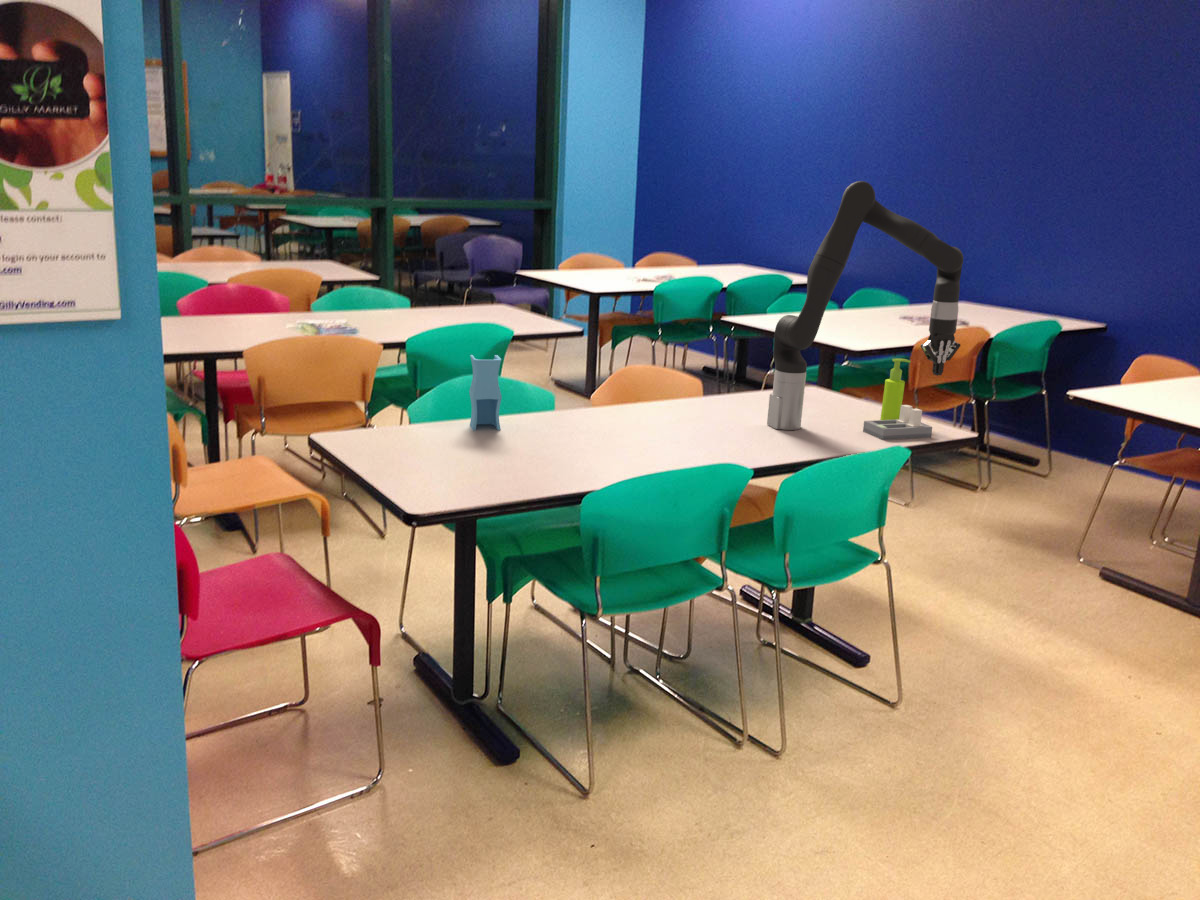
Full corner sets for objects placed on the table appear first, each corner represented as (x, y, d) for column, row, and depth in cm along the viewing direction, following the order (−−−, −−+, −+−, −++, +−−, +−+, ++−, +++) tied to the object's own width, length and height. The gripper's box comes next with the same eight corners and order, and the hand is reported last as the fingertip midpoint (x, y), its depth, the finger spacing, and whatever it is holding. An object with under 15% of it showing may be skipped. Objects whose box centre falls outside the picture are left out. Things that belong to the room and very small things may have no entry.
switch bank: (882, 439, 299) (883, 428, 298) (862, 431, 308) (864, 420, 308) (930, 437, 305) (932, 426, 304) (910, 428, 314) (911, 418, 313)
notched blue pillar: (496, 423, 297) (497, 354, 291) (500, 430, 290) (502, 360, 284) (468, 423, 295) (469, 354, 289) (472, 430, 287) (473, 360, 282)
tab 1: (901, 428, 308) (904, 407, 306) (895, 426, 311) (898, 404, 309) (912, 428, 309) (915, 406, 307) (906, 425, 312) (909, 404, 310)
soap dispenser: (905, 424, 319) (913, 361, 314) (882, 423, 319) (890, 360, 314) (900, 420, 325) (908, 357, 320) (878, 419, 325) (886, 356, 320)
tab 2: (911, 432, 304) (913, 411, 302) (904, 430, 306) (907, 408, 304) (922, 432, 305) (925, 410, 303) (916, 429, 308) (918, 408, 306)
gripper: (933, 319, 294) (927, 378, 298) (971, 317, 298) (964, 376, 303) (917, 315, 300) (910, 373, 305) (953, 313, 305) (947, 371, 310)
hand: (937, 374), depth 304 cm, fingers closed
